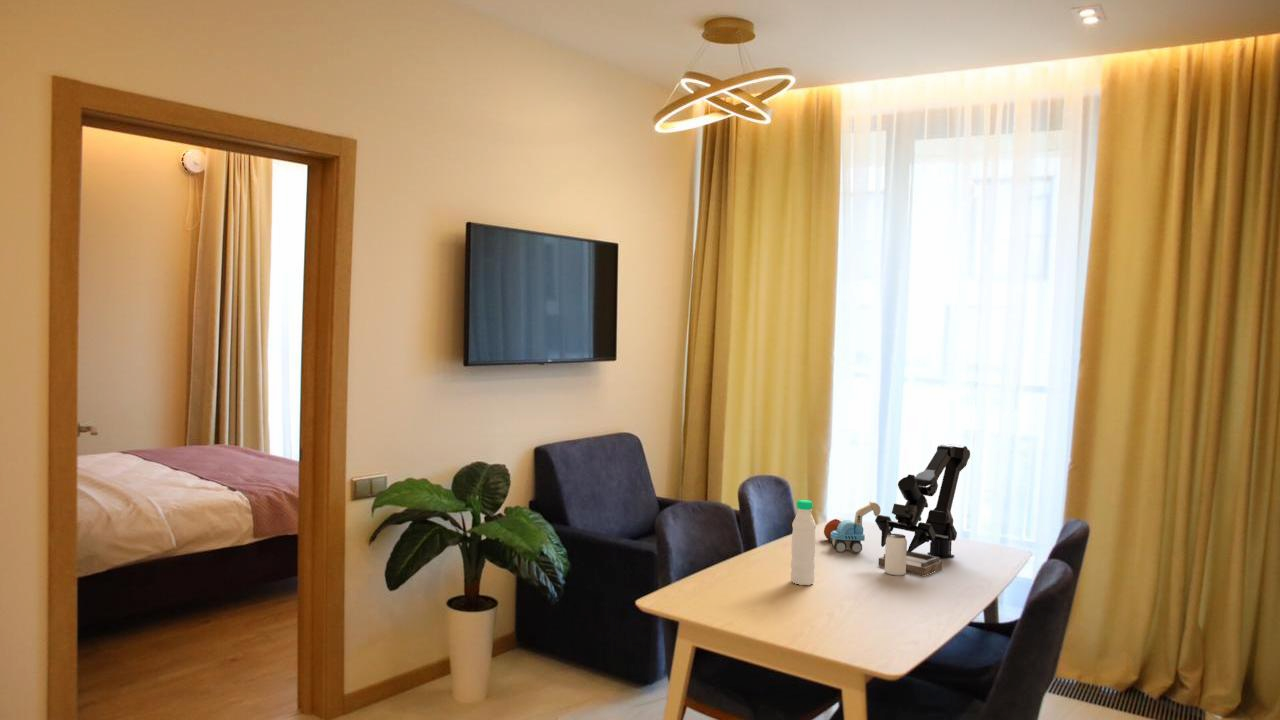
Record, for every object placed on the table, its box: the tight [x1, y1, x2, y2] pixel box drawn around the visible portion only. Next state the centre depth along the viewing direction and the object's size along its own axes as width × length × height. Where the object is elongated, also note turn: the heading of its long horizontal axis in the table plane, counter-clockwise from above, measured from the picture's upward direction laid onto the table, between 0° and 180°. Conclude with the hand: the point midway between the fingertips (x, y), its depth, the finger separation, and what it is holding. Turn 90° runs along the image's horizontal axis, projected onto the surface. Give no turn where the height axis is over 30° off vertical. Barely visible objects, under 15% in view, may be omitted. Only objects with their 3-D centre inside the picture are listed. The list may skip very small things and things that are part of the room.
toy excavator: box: [829, 501, 881, 554], centre depth 316 cm, size 9×17×17 cm, turn 89°
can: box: [884, 533, 908, 577], centre depth 288 cm, size 6×6×12 cm
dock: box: [878, 550, 943, 577], centre depth 296 cm, size 12×16×4 cm
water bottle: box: [790, 499, 817, 586], centre depth 275 cm, size 7×7×25 cm
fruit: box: [823, 518, 842, 541], centre depth 329 cm, size 9×9×8 cm
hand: (895, 548), depth 288 cm, fingers open, 9 cm apart
